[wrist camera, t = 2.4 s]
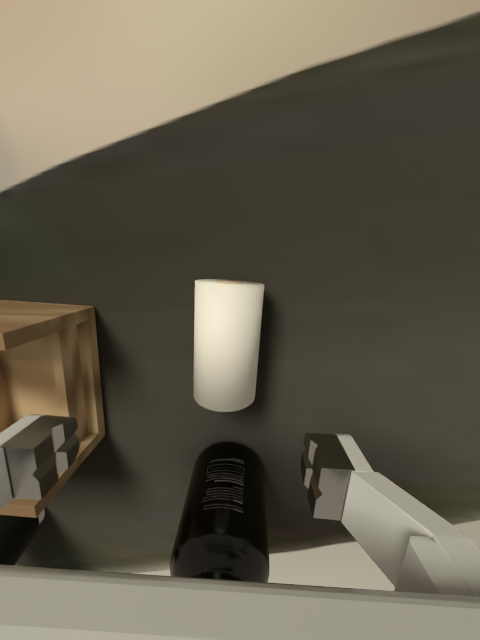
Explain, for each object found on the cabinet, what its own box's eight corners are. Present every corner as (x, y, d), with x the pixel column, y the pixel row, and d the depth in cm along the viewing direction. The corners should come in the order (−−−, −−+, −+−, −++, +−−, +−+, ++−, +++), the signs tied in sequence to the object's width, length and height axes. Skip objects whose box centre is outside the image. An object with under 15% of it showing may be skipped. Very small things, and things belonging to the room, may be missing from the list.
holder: (-19, 298, 21) (-174, 321, 13) (94, 306, 21) (2, 333, 13) (7, 427, 24) (-107, 504, 17) (105, 434, 24) (36, 517, 16)
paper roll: (205, 276, 20) (185, 281, 15) (264, 280, 20) (263, 287, 15) (202, 377, 22) (184, 408, 18) (256, 382, 22) (252, 416, 17)
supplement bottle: (183, 473, 25) (123, 660, 13) (219, 426, 23) (188, 591, 12) (238, 505, 26) (229, 709, 14) (277, 461, 24) (302, 650, 12)
